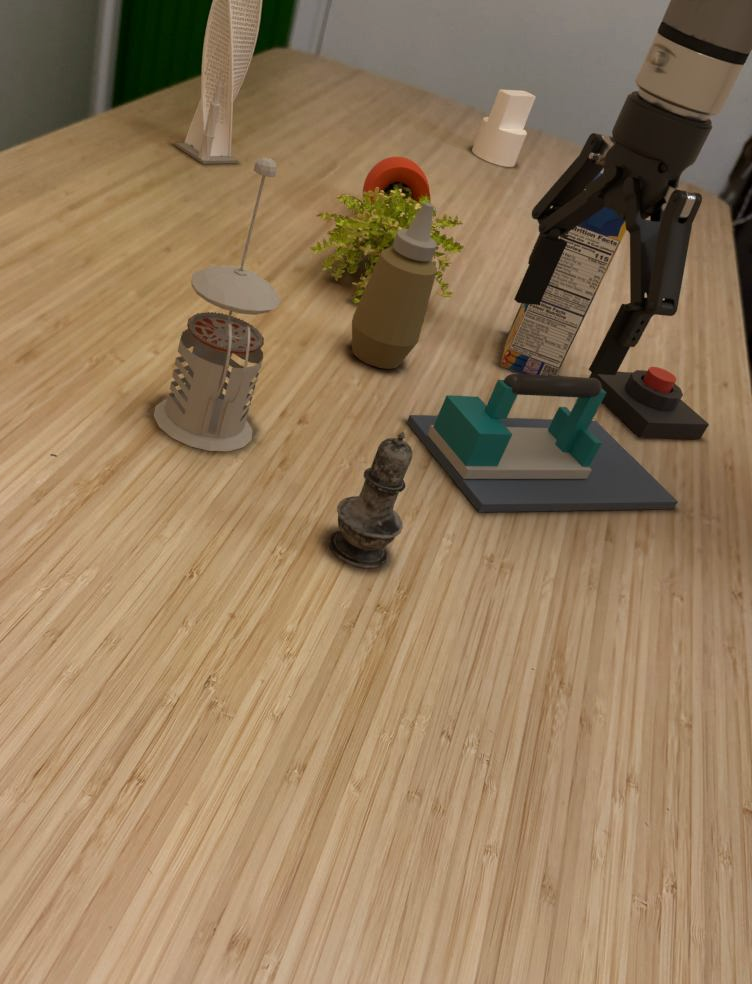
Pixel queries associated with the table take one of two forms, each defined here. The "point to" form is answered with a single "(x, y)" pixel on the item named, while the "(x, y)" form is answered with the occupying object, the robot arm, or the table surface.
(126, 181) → the table surface
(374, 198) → the potted plant
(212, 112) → the skyscraper
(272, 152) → the table surface
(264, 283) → the french press
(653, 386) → the power button
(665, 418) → the button base
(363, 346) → the squeeze bottle
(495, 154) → the cylinder with rectangular tab
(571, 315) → the beverage box
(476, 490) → the ironing mat
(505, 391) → the iron
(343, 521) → the salt shaker
